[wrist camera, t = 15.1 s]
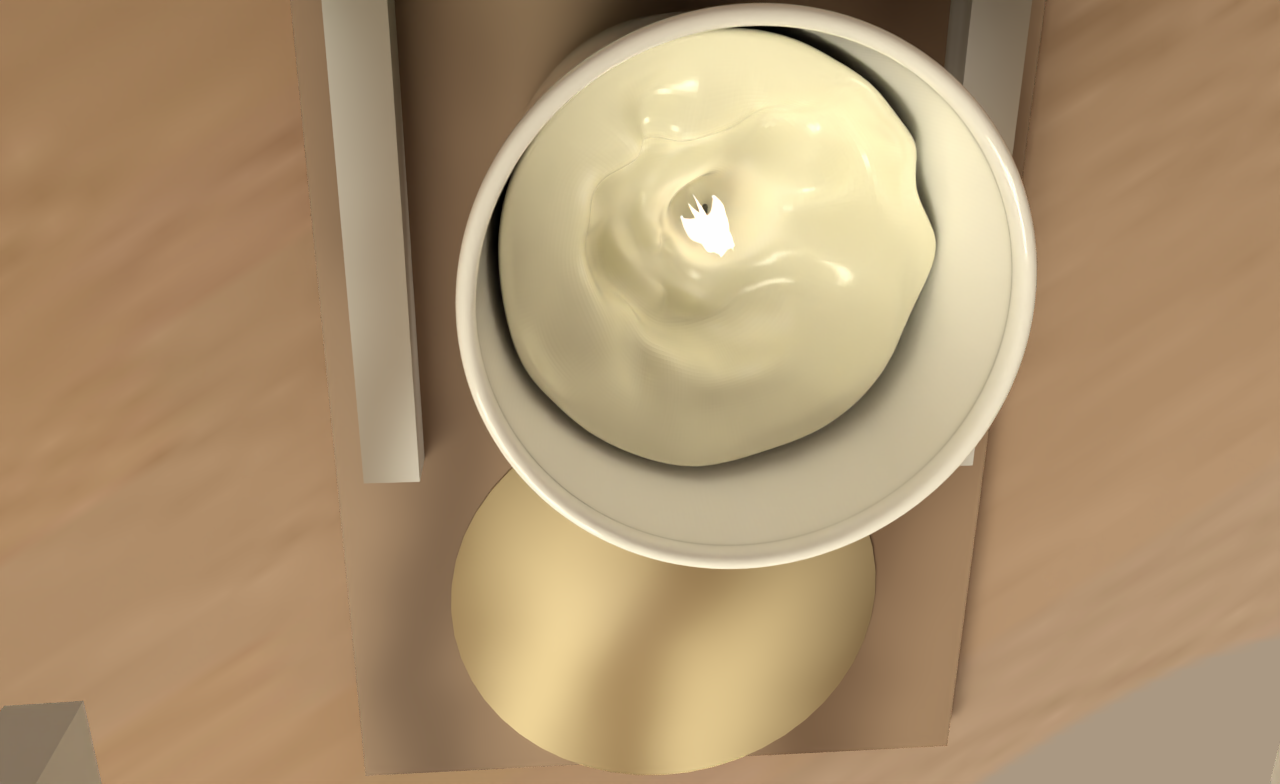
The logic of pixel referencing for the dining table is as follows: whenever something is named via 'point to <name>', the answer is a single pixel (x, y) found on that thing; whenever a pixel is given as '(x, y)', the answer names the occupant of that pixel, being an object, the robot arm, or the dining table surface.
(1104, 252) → the dining table surface
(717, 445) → the candle holder
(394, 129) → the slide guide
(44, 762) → the robot arm
